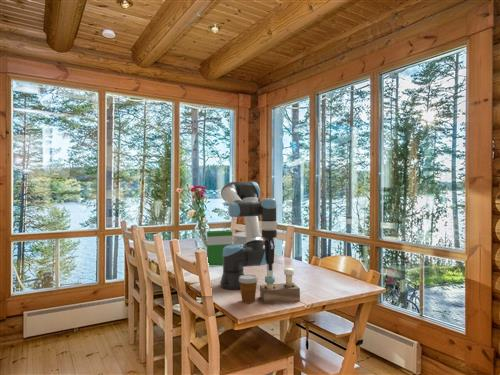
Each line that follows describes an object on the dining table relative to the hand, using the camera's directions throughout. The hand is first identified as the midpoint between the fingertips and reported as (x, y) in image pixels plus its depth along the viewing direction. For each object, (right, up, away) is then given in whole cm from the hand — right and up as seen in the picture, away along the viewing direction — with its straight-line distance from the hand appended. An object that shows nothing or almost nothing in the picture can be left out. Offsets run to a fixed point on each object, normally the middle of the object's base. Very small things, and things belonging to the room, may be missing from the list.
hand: (269, 276), depth 171 cm
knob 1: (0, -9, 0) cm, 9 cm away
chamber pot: (-11, -11, +112) cm, 113 cm away
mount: (+5, -12, +1) cm, 13 cm away
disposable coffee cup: (-11, -12, -2) cm, 16 cm away
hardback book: (-32, -12, +78) cm, 85 cm away
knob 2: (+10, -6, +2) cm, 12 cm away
